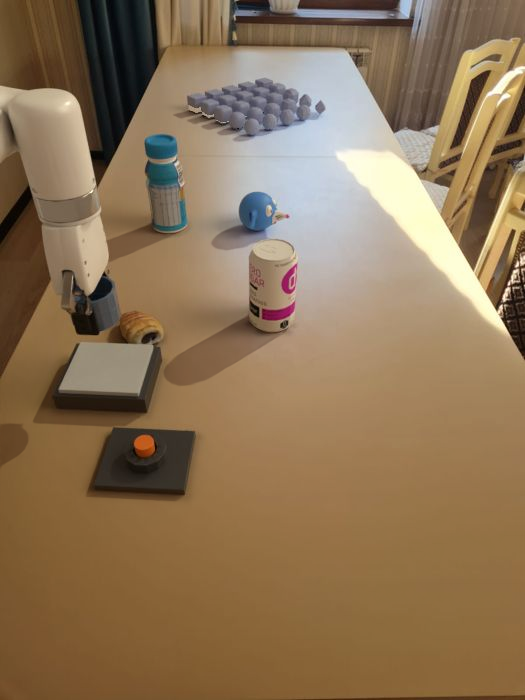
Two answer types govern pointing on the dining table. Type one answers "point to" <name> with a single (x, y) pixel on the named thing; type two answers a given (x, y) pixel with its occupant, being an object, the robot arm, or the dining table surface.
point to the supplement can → (272, 284)
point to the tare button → (144, 446)
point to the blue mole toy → (259, 211)
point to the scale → (109, 377)
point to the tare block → (146, 462)
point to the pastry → (140, 328)
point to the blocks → (254, 105)
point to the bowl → (103, 303)
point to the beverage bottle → (165, 184)
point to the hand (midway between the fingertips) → (96, 316)
